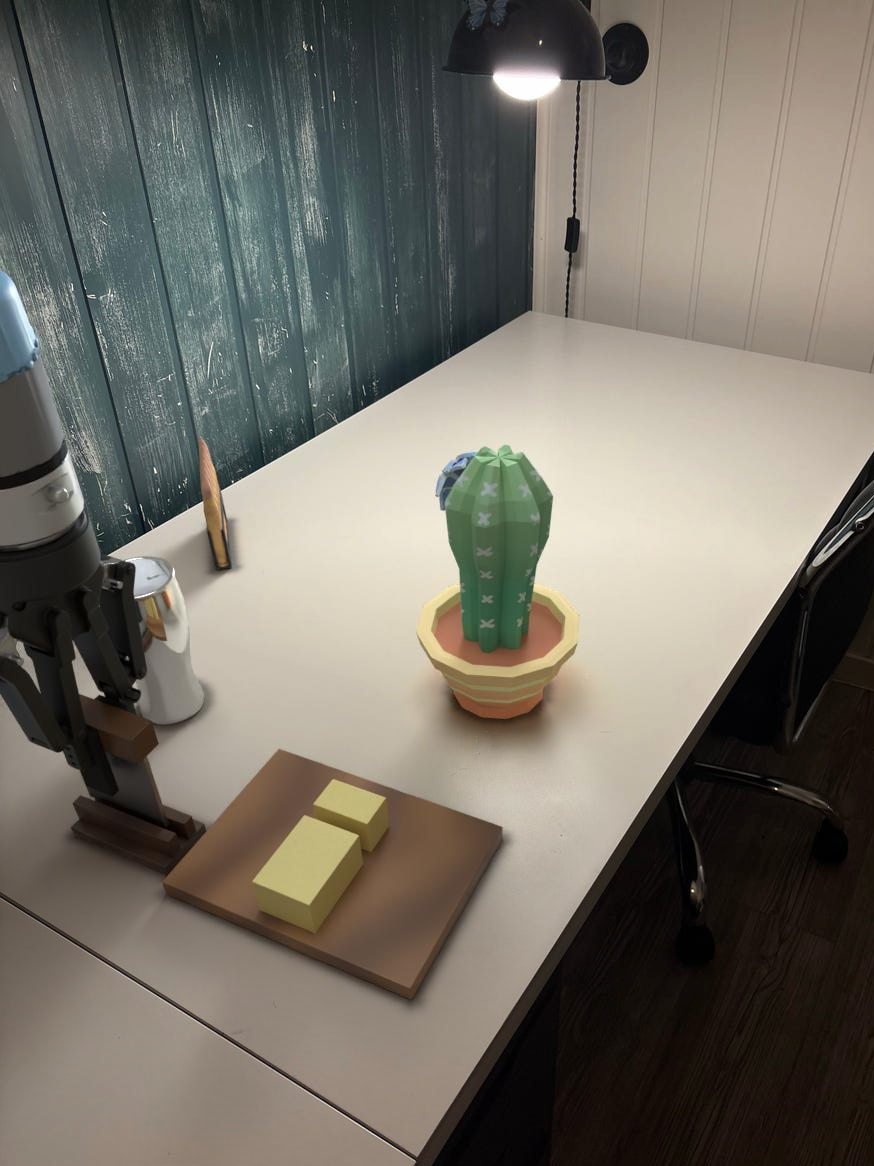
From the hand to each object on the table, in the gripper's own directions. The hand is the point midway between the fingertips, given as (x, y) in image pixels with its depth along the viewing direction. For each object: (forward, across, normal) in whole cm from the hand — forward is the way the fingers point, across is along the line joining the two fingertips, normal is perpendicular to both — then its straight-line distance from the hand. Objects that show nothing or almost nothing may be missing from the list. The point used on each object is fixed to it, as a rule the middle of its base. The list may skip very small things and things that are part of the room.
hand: (116, 774), depth 75 cm
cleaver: (+4, 0, 0) cm, 4 cm away
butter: (+5, 0, -17) cm, 18 cm away
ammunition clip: (+7, +39, +21) cm, 45 cm away
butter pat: (+5, +7, -17) cm, 19 cm away
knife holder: (+7, 0, 0) cm, 7 cm away
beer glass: (+7, +14, +8) cm, 18 cm away
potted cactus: (+7, +29, -20) cm, 36 cm away
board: (+7, +4, -17) cm, 19 cm away
